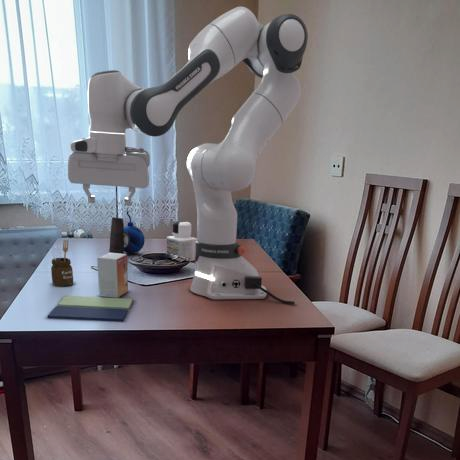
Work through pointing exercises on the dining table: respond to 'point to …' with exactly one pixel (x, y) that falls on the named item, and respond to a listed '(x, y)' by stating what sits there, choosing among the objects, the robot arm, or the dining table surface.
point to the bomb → (133, 238)
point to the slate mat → (88, 313)
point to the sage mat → (95, 302)
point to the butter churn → (117, 233)
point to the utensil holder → (62, 269)
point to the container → (182, 241)
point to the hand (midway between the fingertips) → (109, 204)
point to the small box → (112, 275)
